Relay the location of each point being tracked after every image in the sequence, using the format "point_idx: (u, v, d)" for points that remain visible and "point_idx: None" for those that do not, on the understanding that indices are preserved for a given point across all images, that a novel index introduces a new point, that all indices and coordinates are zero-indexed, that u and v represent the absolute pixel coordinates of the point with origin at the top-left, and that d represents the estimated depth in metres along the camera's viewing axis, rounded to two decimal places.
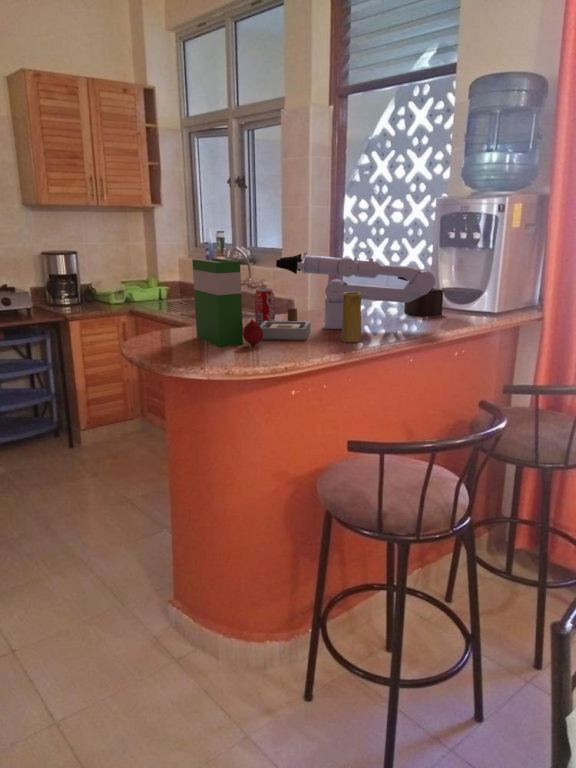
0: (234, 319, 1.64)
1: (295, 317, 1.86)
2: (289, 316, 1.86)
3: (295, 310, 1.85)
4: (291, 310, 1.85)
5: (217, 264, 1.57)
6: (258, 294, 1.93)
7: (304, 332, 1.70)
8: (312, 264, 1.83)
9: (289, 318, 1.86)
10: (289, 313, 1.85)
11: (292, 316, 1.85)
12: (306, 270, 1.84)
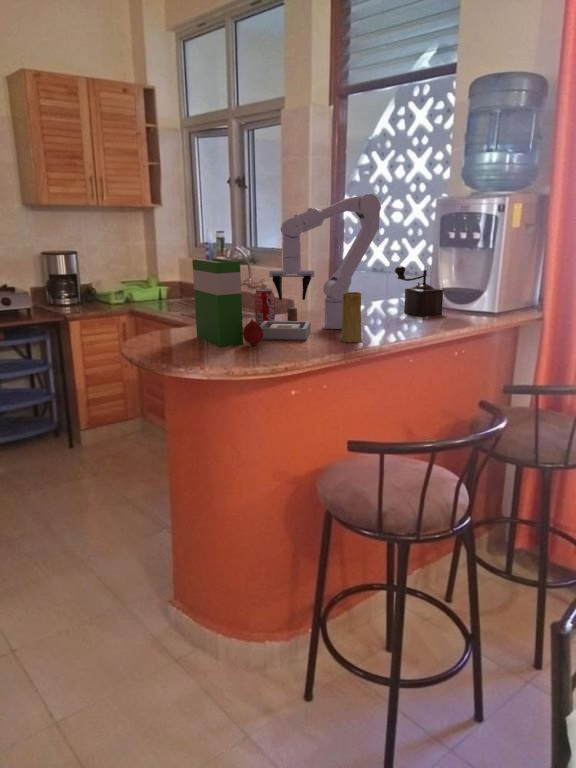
0: (234, 319, 1.64)
1: (295, 317, 1.86)
2: (289, 316, 1.86)
3: (295, 310, 1.85)
4: (291, 310, 1.85)
5: (217, 264, 1.57)
6: (258, 294, 1.93)
7: (304, 332, 1.70)
8: (300, 263, 1.82)
9: (289, 318, 1.86)
10: (289, 313, 1.85)
11: (292, 316, 1.85)
12: None
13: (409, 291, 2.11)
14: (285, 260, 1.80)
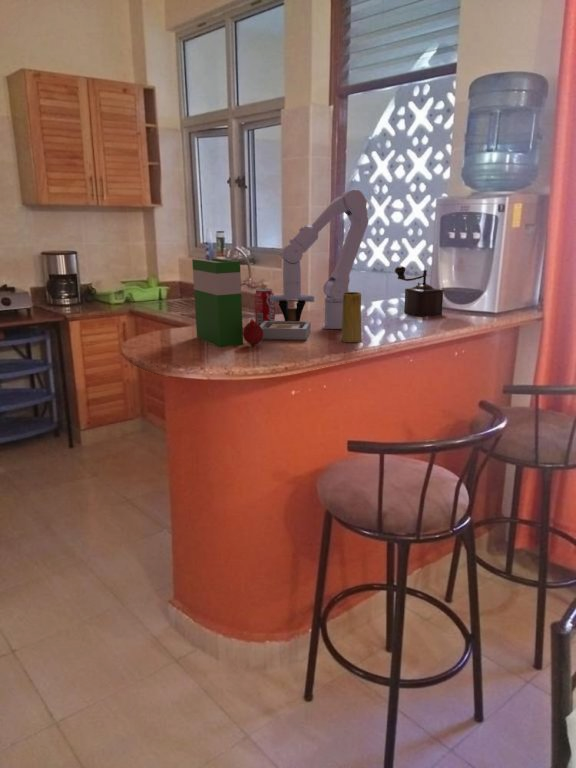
0: (234, 319, 1.64)
1: (295, 317, 1.86)
2: (289, 316, 1.86)
3: (295, 310, 1.85)
4: (291, 310, 1.85)
5: (217, 264, 1.57)
6: (258, 294, 1.93)
7: (304, 332, 1.70)
8: (300, 288, 1.84)
9: (289, 318, 1.86)
10: (289, 313, 1.85)
11: (292, 316, 1.85)
12: None
13: (409, 291, 2.11)
14: (285, 285, 1.82)
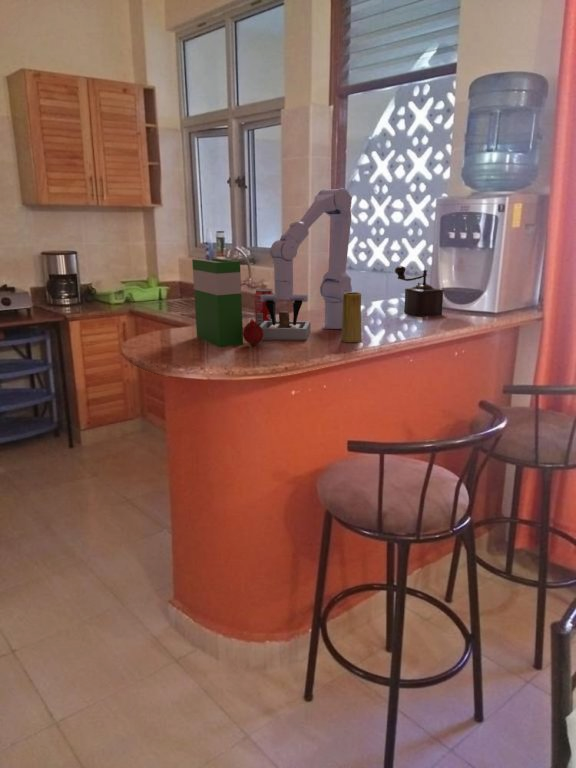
0: (234, 319, 1.64)
1: (287, 321, 1.75)
2: (281, 320, 1.75)
3: (287, 314, 1.75)
4: (283, 314, 1.74)
5: (217, 264, 1.57)
6: (258, 294, 1.93)
7: (304, 332, 1.70)
8: (292, 287, 1.73)
9: (281, 322, 1.75)
10: (281, 317, 1.75)
11: (284, 320, 1.75)
12: None
13: (409, 291, 2.11)
14: (277, 284, 1.71)
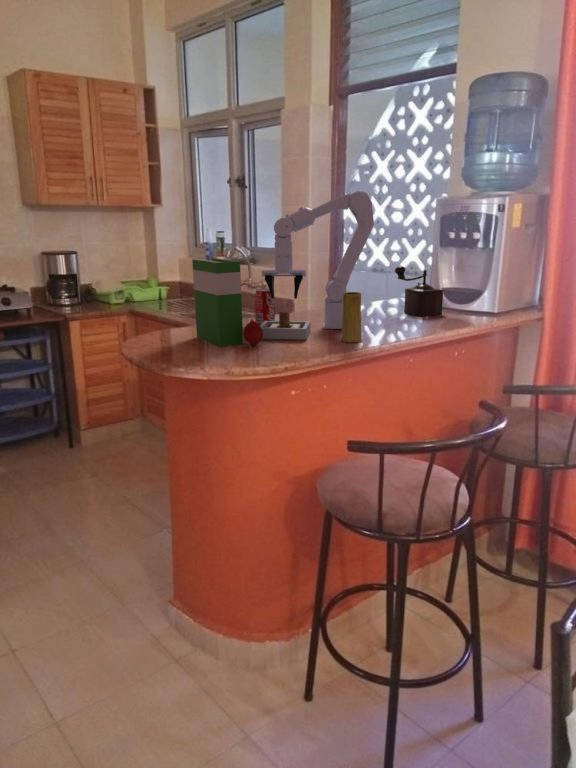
0: (234, 319, 1.64)
1: (287, 321, 1.75)
2: (281, 320, 1.75)
3: (287, 314, 1.74)
4: (283, 314, 1.74)
5: (217, 264, 1.57)
6: (258, 294, 1.93)
7: (304, 332, 1.70)
8: None
9: (281, 323, 1.75)
10: (281, 317, 1.75)
11: (284, 321, 1.75)
12: None
13: (409, 291, 2.11)
14: (277, 259, 1.83)
